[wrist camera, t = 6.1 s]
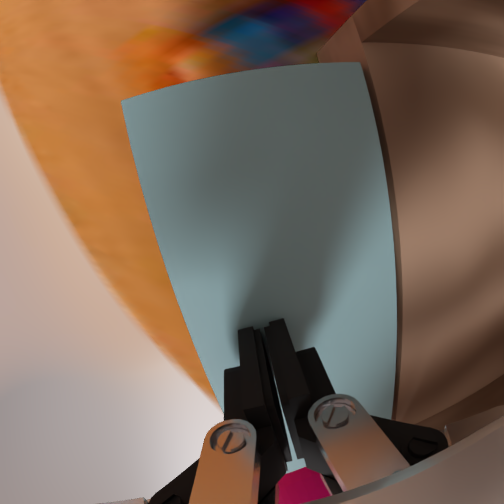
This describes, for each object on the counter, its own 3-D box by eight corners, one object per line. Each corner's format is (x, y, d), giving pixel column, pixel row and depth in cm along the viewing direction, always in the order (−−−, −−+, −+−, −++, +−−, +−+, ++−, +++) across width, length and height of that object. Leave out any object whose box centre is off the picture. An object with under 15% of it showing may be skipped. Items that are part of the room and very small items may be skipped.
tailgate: (335, 74, 11) (130, 112, 9) (360, 62, 9) (120, 101, 8) (374, 408, 16) (250, 458, 15) (390, 427, 14) (258, 482, 13)
